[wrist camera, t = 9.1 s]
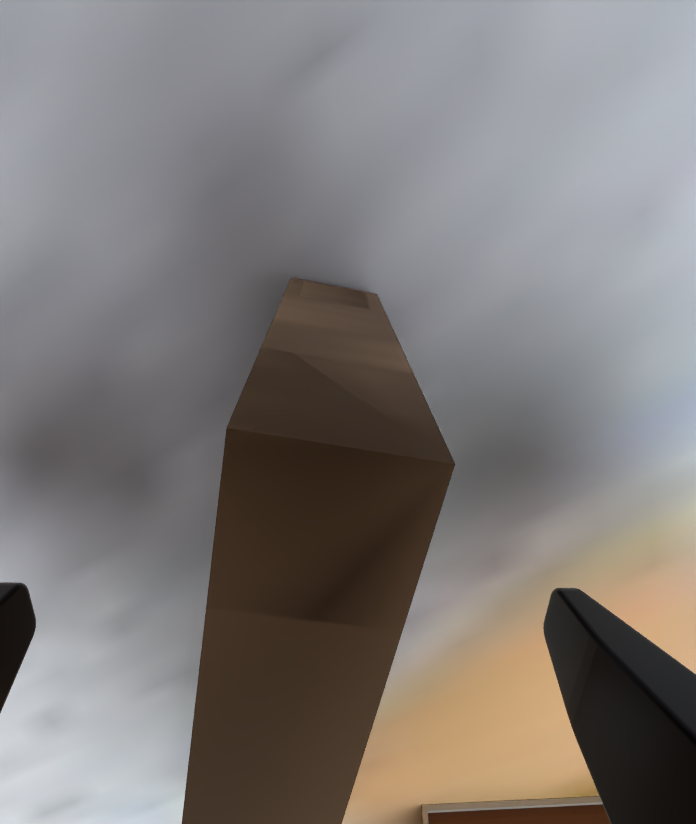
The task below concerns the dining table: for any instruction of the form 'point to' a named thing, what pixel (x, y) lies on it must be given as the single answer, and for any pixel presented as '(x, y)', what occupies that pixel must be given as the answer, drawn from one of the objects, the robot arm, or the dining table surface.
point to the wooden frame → (311, 561)
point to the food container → (519, 812)
